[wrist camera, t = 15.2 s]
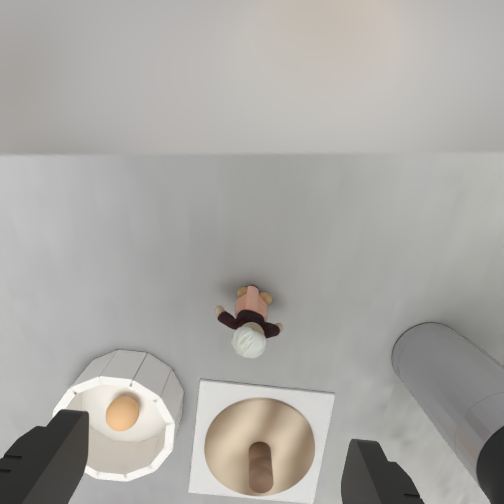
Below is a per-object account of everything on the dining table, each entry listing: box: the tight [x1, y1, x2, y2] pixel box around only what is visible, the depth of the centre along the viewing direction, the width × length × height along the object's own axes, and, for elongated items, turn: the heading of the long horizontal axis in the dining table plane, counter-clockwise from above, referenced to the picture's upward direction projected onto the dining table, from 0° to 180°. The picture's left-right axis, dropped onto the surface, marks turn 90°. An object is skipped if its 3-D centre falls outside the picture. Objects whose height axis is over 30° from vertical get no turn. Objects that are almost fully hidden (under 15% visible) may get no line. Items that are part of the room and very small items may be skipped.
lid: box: [204, 398, 315, 496], centre depth 45 cm, size 15×15×6 cm
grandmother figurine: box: [215, 286, 283, 358], centre depth 37 cm, size 8×4×13 cm, turn 84°
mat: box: [189, 379, 335, 504], centre depth 48 cm, size 18×18×1 cm
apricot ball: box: [105, 396, 139, 431], centre depth 44 cm, size 4×4×4 cm
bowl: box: [53, 349, 184, 482], centre depth 44 cm, size 14×14×6 cm
